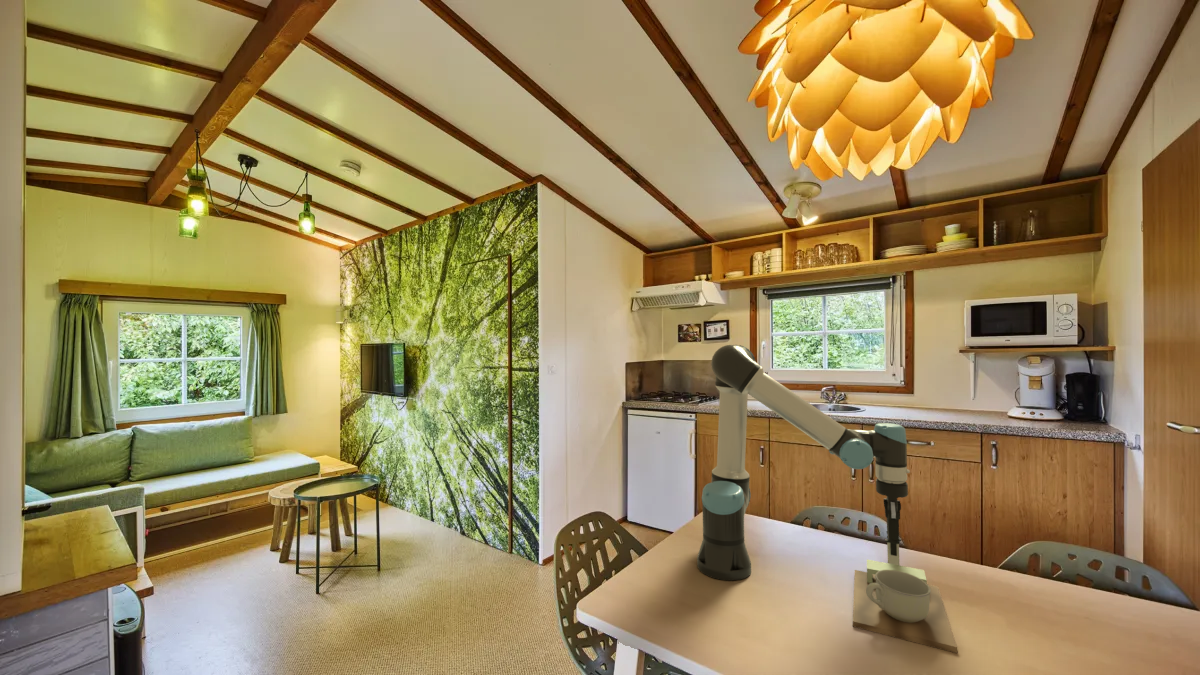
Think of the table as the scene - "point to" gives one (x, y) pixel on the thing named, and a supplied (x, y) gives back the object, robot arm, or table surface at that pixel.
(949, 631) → the board
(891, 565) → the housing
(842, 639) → the table surface
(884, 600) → the teacup
